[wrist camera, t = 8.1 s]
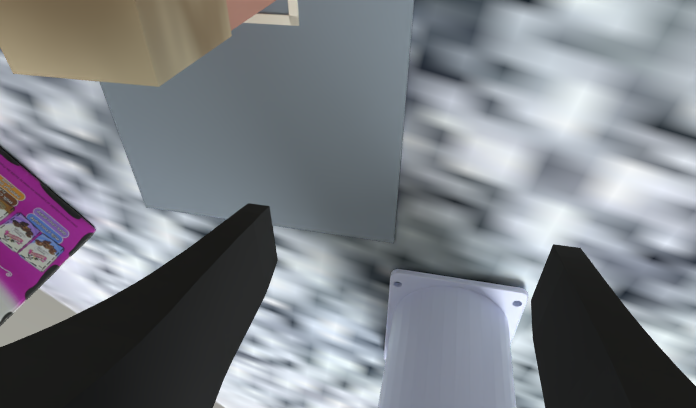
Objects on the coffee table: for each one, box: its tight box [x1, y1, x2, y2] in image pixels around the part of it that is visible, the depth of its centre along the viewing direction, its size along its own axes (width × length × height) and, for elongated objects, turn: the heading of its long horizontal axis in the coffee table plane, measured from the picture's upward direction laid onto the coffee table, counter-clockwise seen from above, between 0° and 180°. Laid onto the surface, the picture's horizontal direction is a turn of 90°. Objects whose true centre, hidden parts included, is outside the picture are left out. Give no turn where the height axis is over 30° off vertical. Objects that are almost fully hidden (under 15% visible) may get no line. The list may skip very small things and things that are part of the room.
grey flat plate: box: [100, 0, 414, 243], centre depth 20 cm, size 20×16×1 cm
